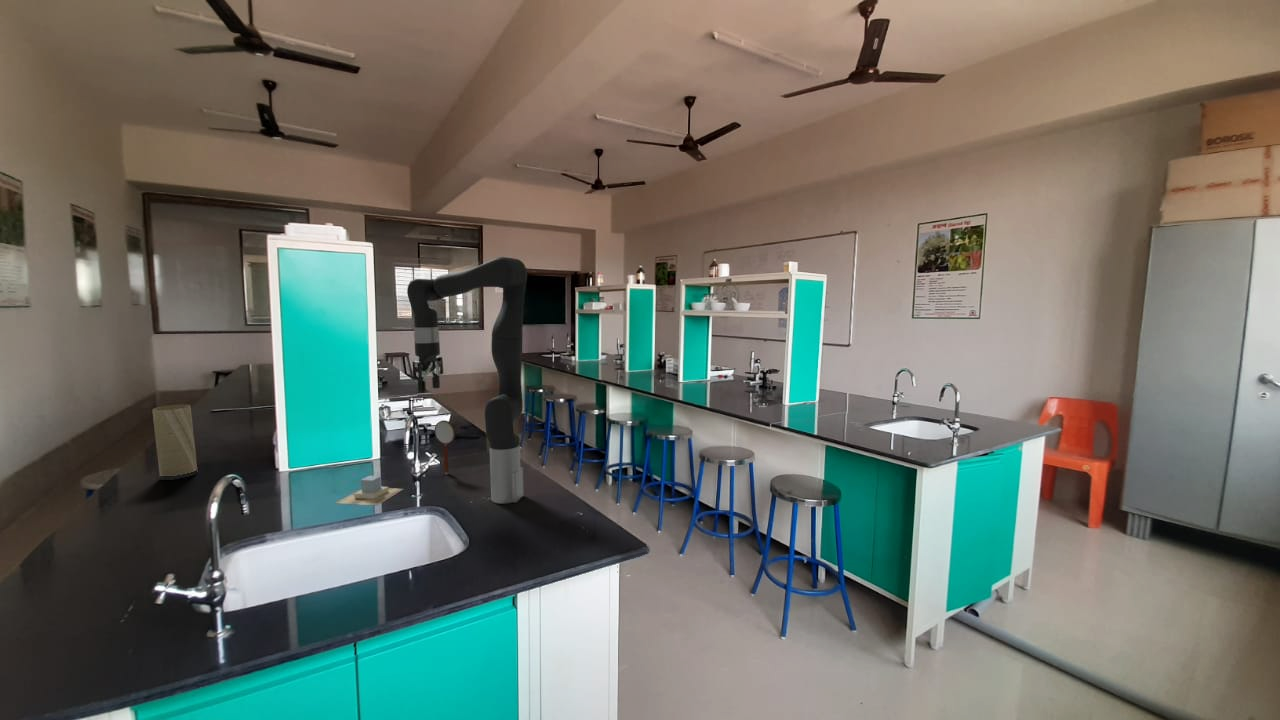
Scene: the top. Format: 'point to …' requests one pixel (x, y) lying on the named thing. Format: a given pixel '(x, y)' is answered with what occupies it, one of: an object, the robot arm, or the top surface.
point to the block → (371, 484)
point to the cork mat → (377, 501)
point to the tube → (174, 440)
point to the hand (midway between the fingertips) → (429, 390)
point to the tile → (371, 495)
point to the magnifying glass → (445, 437)
